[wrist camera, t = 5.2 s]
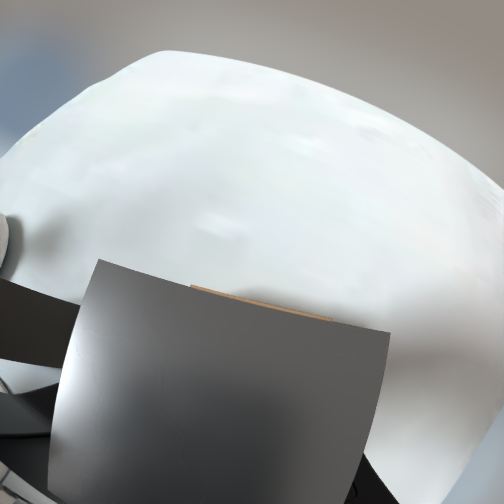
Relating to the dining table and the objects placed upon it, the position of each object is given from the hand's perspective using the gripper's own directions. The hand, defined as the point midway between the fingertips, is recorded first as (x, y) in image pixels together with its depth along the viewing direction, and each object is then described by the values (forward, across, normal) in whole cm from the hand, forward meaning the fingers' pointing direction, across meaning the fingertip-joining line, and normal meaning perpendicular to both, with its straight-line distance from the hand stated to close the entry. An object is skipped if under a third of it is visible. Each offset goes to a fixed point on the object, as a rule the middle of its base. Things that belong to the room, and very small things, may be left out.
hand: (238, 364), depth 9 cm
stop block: (+4, 0, +6) cm, 7 cm away
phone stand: (+6, +19, +12) cm, 23 cm away
